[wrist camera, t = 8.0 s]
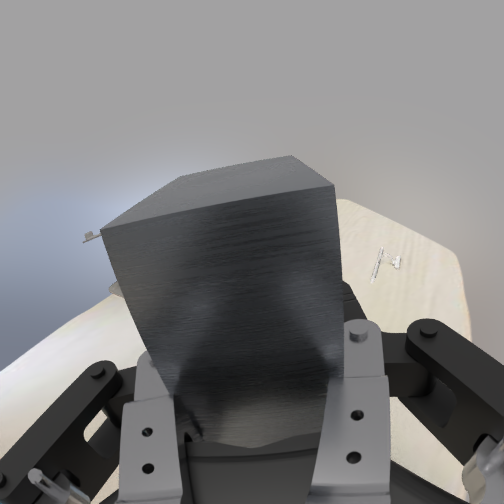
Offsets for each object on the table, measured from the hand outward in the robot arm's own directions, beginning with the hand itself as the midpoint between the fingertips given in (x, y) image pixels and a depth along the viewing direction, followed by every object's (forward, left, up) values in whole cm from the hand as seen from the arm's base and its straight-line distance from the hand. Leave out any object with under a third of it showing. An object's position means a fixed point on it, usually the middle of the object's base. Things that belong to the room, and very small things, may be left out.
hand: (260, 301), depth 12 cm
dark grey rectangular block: (0, -3, -7) cm, 7 cm away
